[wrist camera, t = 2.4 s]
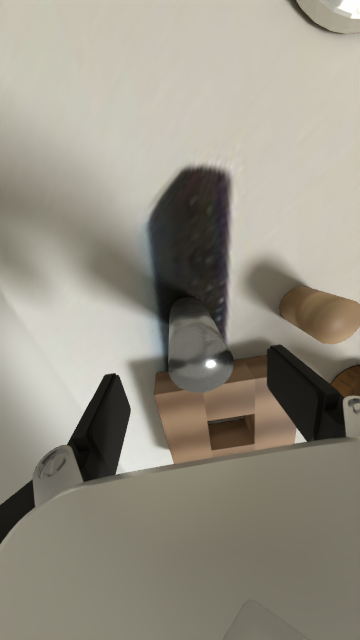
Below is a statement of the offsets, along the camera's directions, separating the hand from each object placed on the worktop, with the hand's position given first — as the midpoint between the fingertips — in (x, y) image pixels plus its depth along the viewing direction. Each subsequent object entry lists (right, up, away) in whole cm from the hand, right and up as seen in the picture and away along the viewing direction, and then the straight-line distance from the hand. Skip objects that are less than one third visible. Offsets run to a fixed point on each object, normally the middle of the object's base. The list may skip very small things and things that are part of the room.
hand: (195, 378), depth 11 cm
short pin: (+12, +5, +8) cm, 15 cm away
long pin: (0, +4, +8) cm, 9 cm away
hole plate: (+5, -9, +14) cm, 17 cm away
